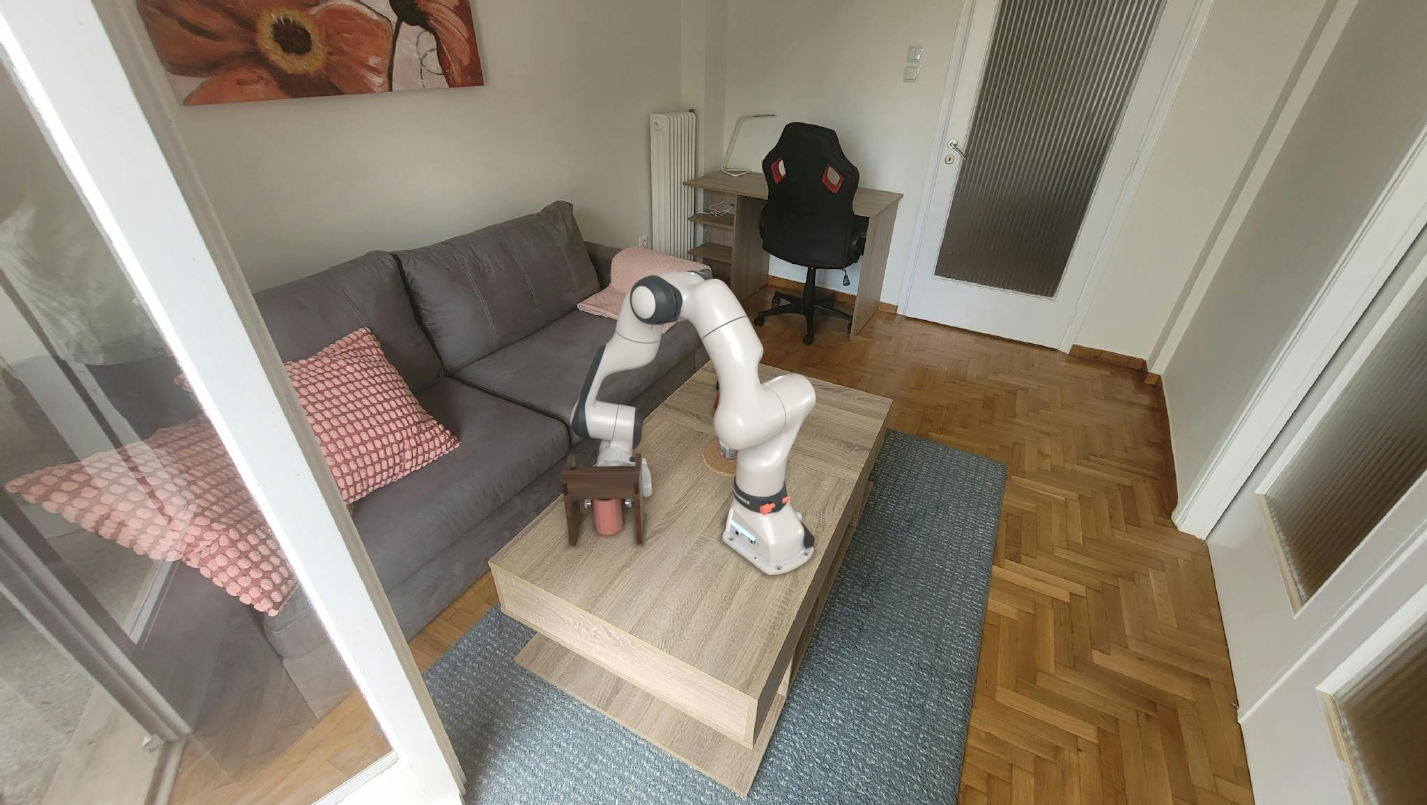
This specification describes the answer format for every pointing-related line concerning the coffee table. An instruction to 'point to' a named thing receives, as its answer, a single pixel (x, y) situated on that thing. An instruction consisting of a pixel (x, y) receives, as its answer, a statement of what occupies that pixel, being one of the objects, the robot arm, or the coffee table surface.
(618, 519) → the cup
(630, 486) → the dark wooden stand
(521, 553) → the coffee table surface
